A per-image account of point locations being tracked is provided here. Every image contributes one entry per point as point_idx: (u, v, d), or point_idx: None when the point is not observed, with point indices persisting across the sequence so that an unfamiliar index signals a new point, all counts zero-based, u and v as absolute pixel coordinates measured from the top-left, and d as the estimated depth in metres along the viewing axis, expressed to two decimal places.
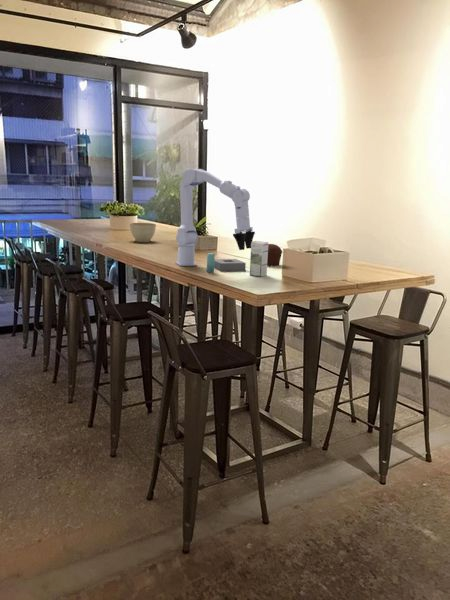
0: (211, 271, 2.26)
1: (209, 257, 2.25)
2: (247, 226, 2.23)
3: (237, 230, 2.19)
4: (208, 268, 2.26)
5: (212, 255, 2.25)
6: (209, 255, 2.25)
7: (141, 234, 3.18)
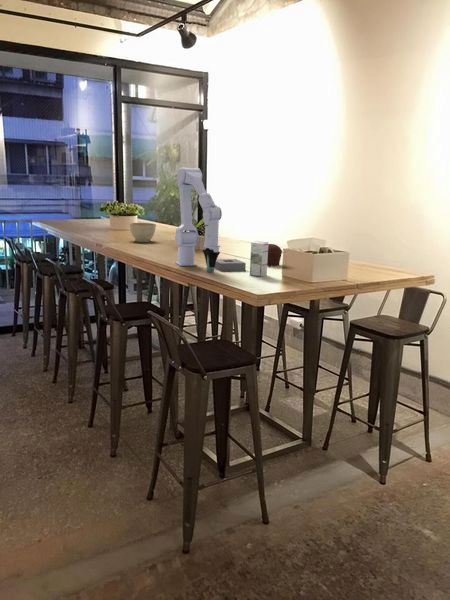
0: (211, 271, 2.26)
1: None
2: (217, 244, 2.25)
3: (217, 249, 2.19)
4: (208, 268, 2.26)
5: None
6: None
7: (141, 234, 3.18)
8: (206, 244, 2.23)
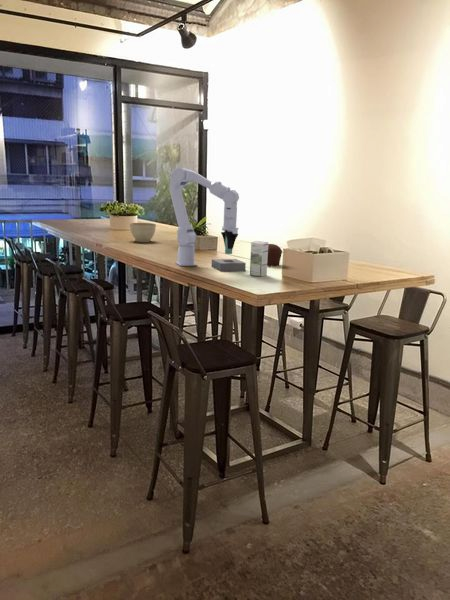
0: (229, 252, 2.35)
1: None
2: None
3: (236, 231, 2.28)
4: (227, 250, 2.35)
5: None
6: None
7: (141, 234, 3.18)
8: (225, 226, 2.32)
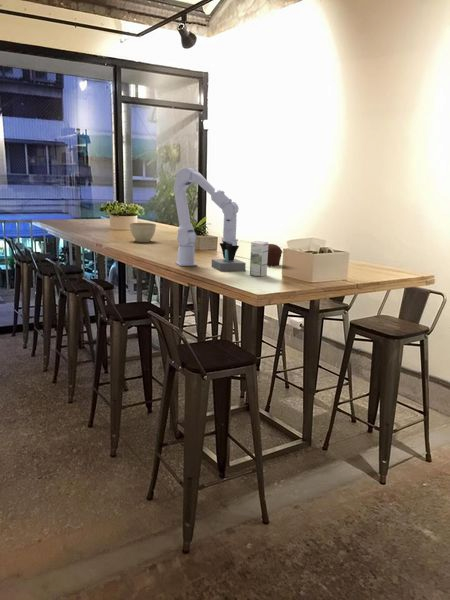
0: None
1: (227, 253, 2.35)
2: (235, 238, 2.35)
3: (235, 242, 2.29)
4: None
5: None
6: (227, 251, 2.35)
7: (141, 234, 3.18)
8: (224, 238, 2.33)
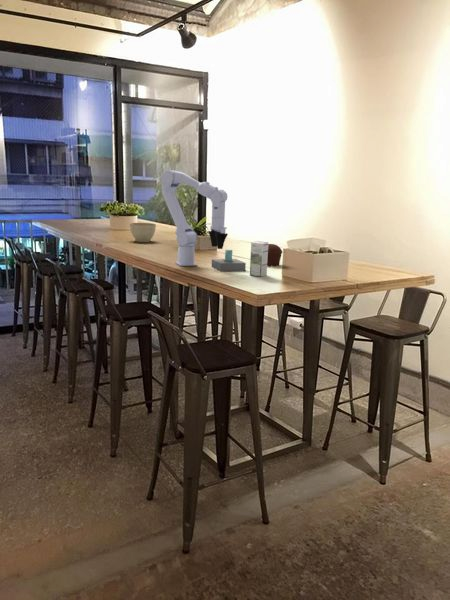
0: None
1: (227, 253, 2.35)
2: None
3: (224, 230, 2.28)
4: None
5: (230, 251, 2.35)
6: (227, 251, 2.35)
7: (141, 234, 3.18)
8: (213, 226, 2.32)
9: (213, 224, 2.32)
